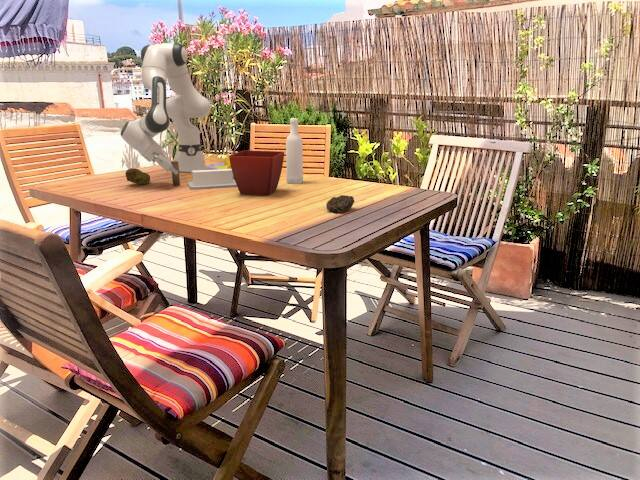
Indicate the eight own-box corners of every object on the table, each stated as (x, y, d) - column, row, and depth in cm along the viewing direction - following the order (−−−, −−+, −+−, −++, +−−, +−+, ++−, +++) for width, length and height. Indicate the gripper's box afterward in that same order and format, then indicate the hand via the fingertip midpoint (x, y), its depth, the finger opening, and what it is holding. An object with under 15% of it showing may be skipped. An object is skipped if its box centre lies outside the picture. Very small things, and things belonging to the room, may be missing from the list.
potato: (156, 183, 248) (155, 166, 246) (131, 187, 239) (129, 170, 237) (147, 181, 254) (146, 165, 251) (122, 185, 245) (120, 168, 242)
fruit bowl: (198, 179, 260) (196, 156, 257) (223, 171, 285) (222, 150, 282) (250, 182, 253) (249, 158, 249) (271, 173, 277) (271, 152, 274)
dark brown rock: (337, 205, 204) (337, 192, 203) (359, 209, 198) (359, 196, 196) (318, 210, 196) (318, 197, 194) (340, 215, 189) (340, 201, 188)
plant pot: (273, 197, 218) (272, 156, 213) (229, 195, 221) (227, 155, 217) (285, 189, 236) (285, 151, 231) (245, 187, 239) (243, 150, 235)
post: (172, 185, 245) (170, 161, 242) (179, 184, 246) (177, 161, 243) (173, 186, 242) (171, 162, 239) (180, 185, 243) (178, 161, 240)
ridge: (187, 184, 247) (186, 169, 245) (233, 181, 254) (233, 167, 252) (190, 189, 234) (189, 174, 232) (239, 186, 241) (239, 171, 239)
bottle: (302, 184, 248) (302, 118, 240) (285, 184, 248) (284, 118, 240) (303, 181, 256) (302, 117, 247) (287, 181, 256) (286, 117, 248)
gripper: (159, 149, 228) (183, 170, 234) (156, 144, 246) (179, 164, 252) (149, 160, 227) (174, 181, 233) (147, 154, 246) (170, 174, 252)
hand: (176, 172), depth 243 cm, fingers open, 3 cm apart
